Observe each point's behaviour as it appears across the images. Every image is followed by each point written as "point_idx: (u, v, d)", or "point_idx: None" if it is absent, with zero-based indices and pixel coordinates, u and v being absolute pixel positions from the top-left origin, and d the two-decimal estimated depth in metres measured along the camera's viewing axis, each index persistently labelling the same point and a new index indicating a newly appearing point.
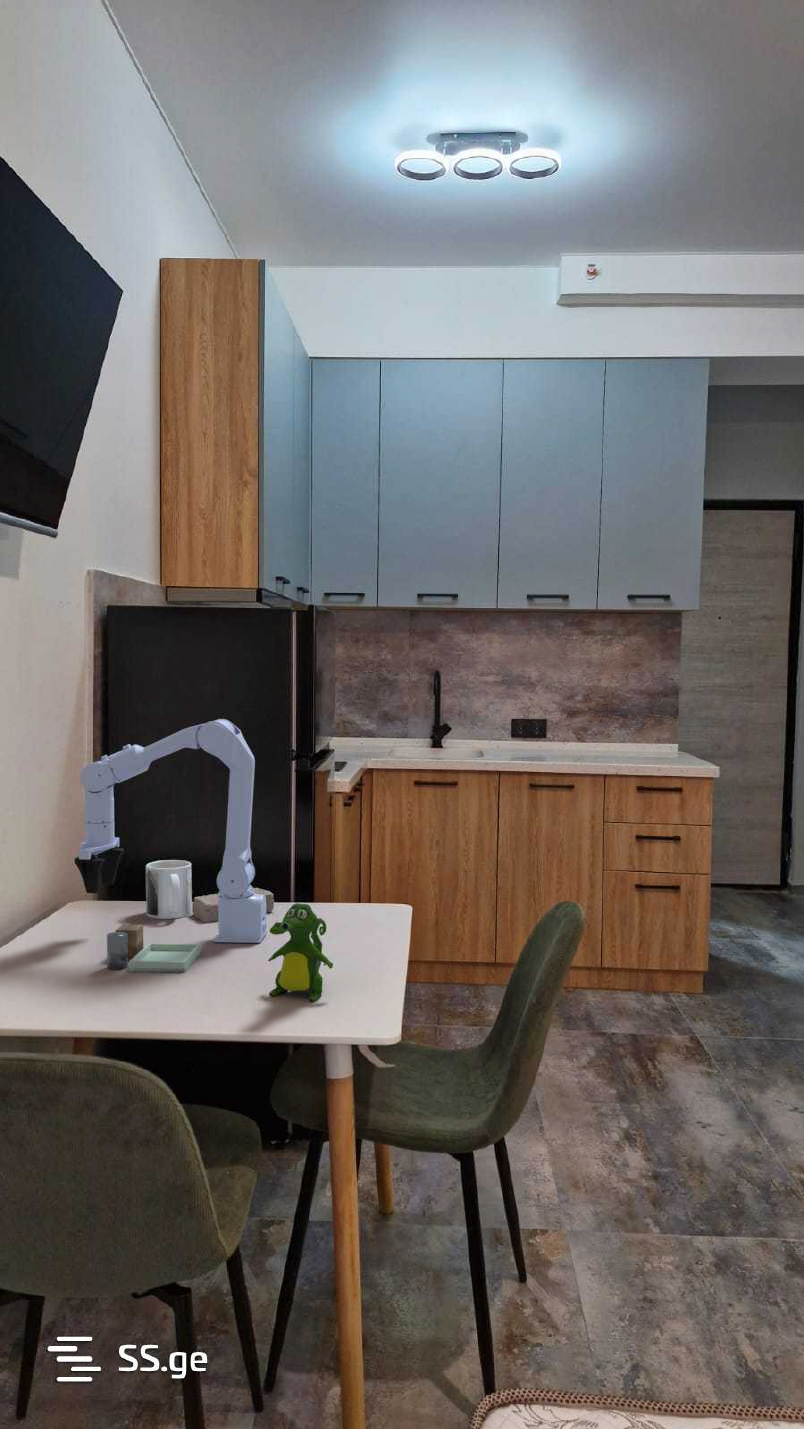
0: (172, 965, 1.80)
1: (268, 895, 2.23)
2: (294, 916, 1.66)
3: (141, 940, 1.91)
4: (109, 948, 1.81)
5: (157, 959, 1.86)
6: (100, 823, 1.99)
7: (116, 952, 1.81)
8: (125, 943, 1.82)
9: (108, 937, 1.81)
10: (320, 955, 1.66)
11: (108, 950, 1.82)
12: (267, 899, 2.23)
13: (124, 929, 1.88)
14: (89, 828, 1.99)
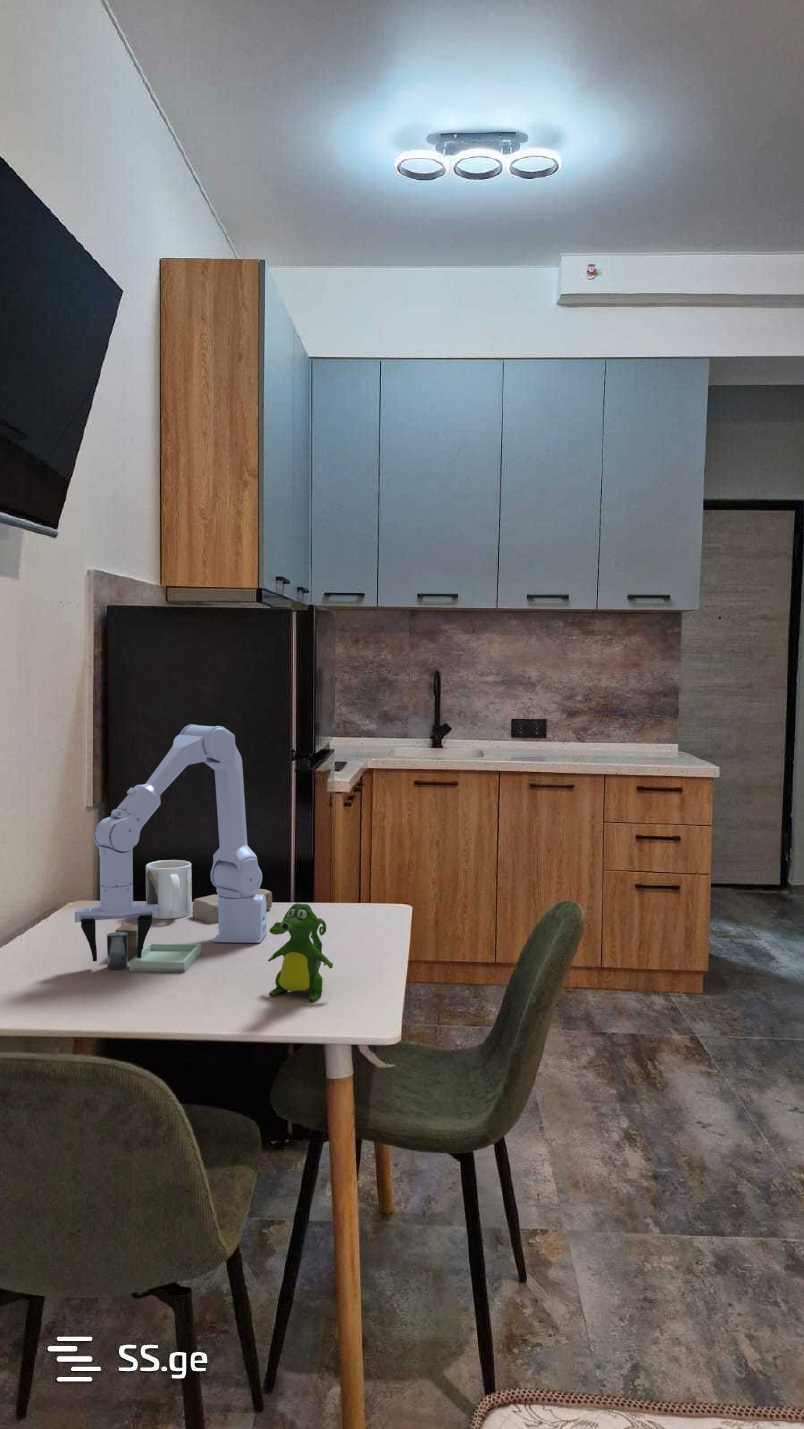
0: (172, 965, 1.80)
1: (267, 893, 2.25)
2: (294, 916, 1.66)
3: None
4: (109, 948, 1.81)
5: (157, 959, 1.86)
6: (102, 886, 1.80)
7: (116, 952, 1.81)
8: (125, 943, 1.82)
9: (108, 937, 1.81)
10: (320, 955, 1.66)
11: (108, 950, 1.82)
12: (266, 897, 2.25)
13: (124, 929, 1.88)
14: None
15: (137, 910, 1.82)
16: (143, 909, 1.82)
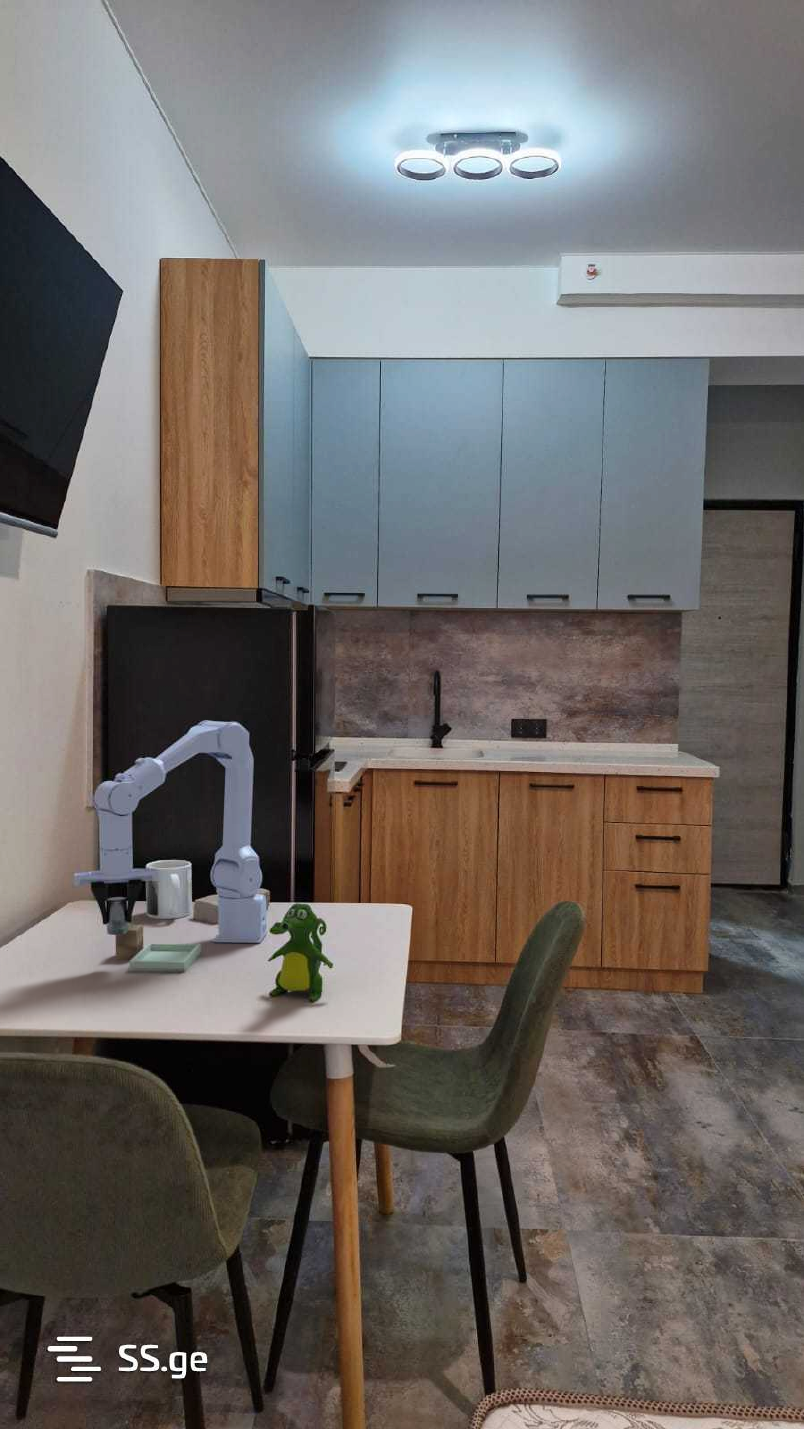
0: (172, 965, 1.80)
1: (266, 892, 2.26)
2: (294, 916, 1.66)
3: (141, 940, 1.91)
4: (108, 913, 1.81)
5: (157, 959, 1.86)
6: (101, 849, 1.80)
7: (116, 917, 1.81)
8: (124, 908, 1.82)
9: (107, 902, 1.81)
10: (320, 955, 1.66)
11: (108, 915, 1.81)
12: (265, 896, 2.26)
13: None
14: None
15: (137, 874, 1.81)
16: (143, 873, 1.82)
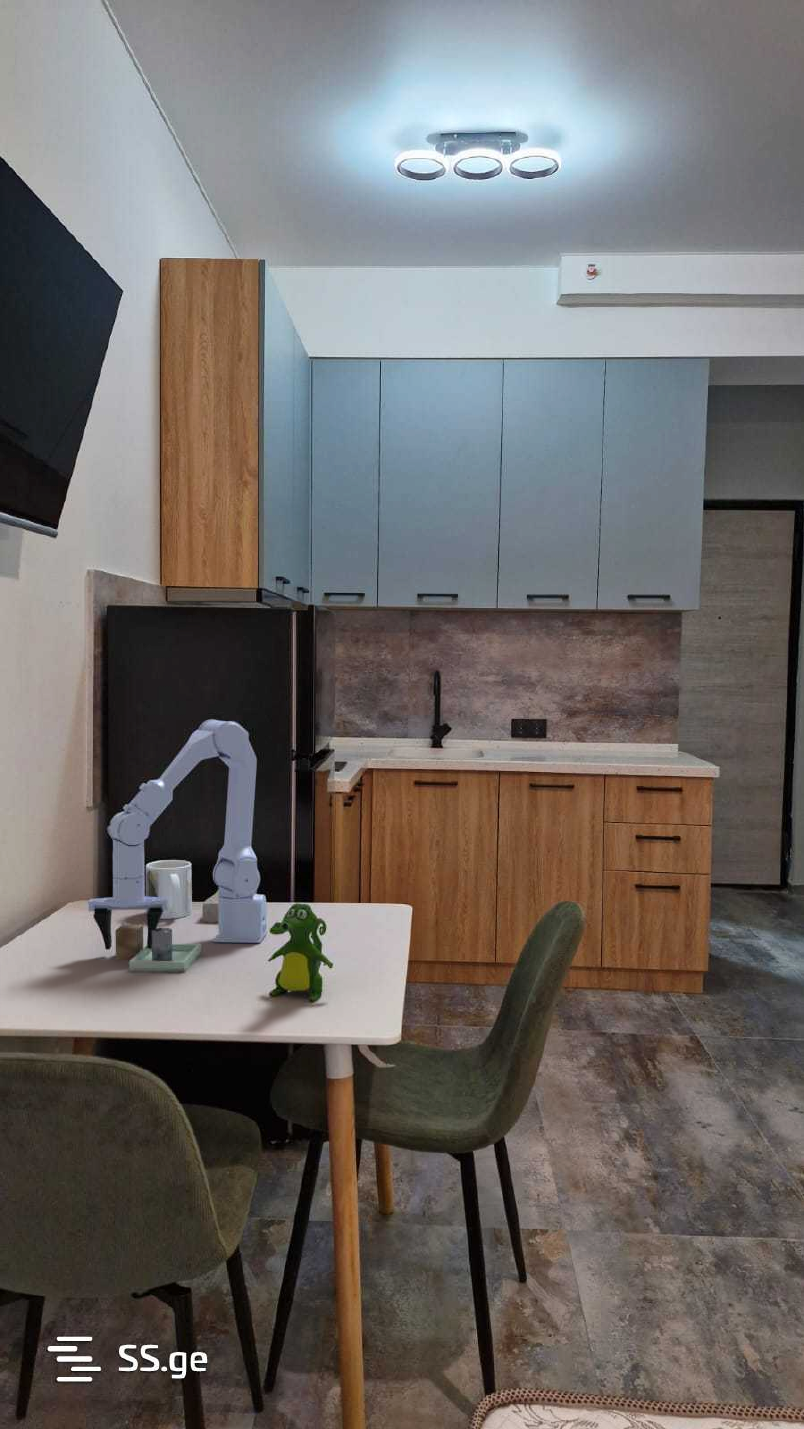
0: (172, 965, 1.80)
1: None
2: (294, 916, 1.66)
3: (141, 940, 1.91)
4: (156, 944, 1.81)
5: None
6: (113, 877, 1.88)
7: (164, 948, 1.82)
8: (171, 938, 1.83)
9: (155, 933, 1.81)
10: (320, 955, 1.66)
11: (155, 946, 1.82)
12: None
13: (124, 929, 1.88)
14: None
15: (146, 902, 1.88)
16: (152, 901, 1.88)
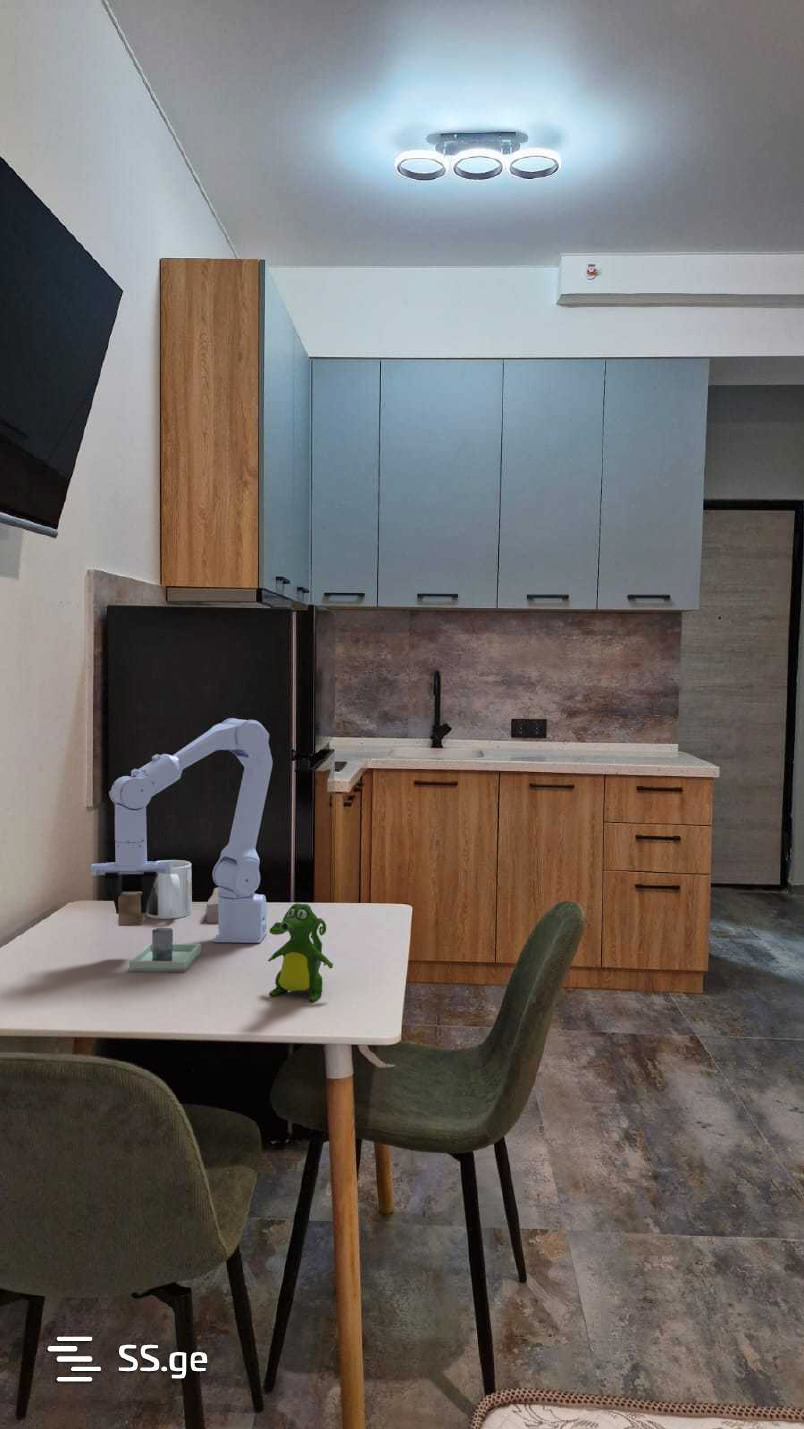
0: (172, 965, 1.80)
1: None
2: (294, 916, 1.66)
3: None
4: (157, 944, 1.82)
5: None
6: (116, 842, 1.87)
7: (165, 947, 1.82)
8: (172, 938, 1.83)
9: (156, 933, 1.82)
10: (320, 955, 1.66)
11: (155, 946, 1.82)
12: None
13: (127, 896, 1.88)
14: None
15: (149, 866, 1.87)
16: (155, 865, 1.88)
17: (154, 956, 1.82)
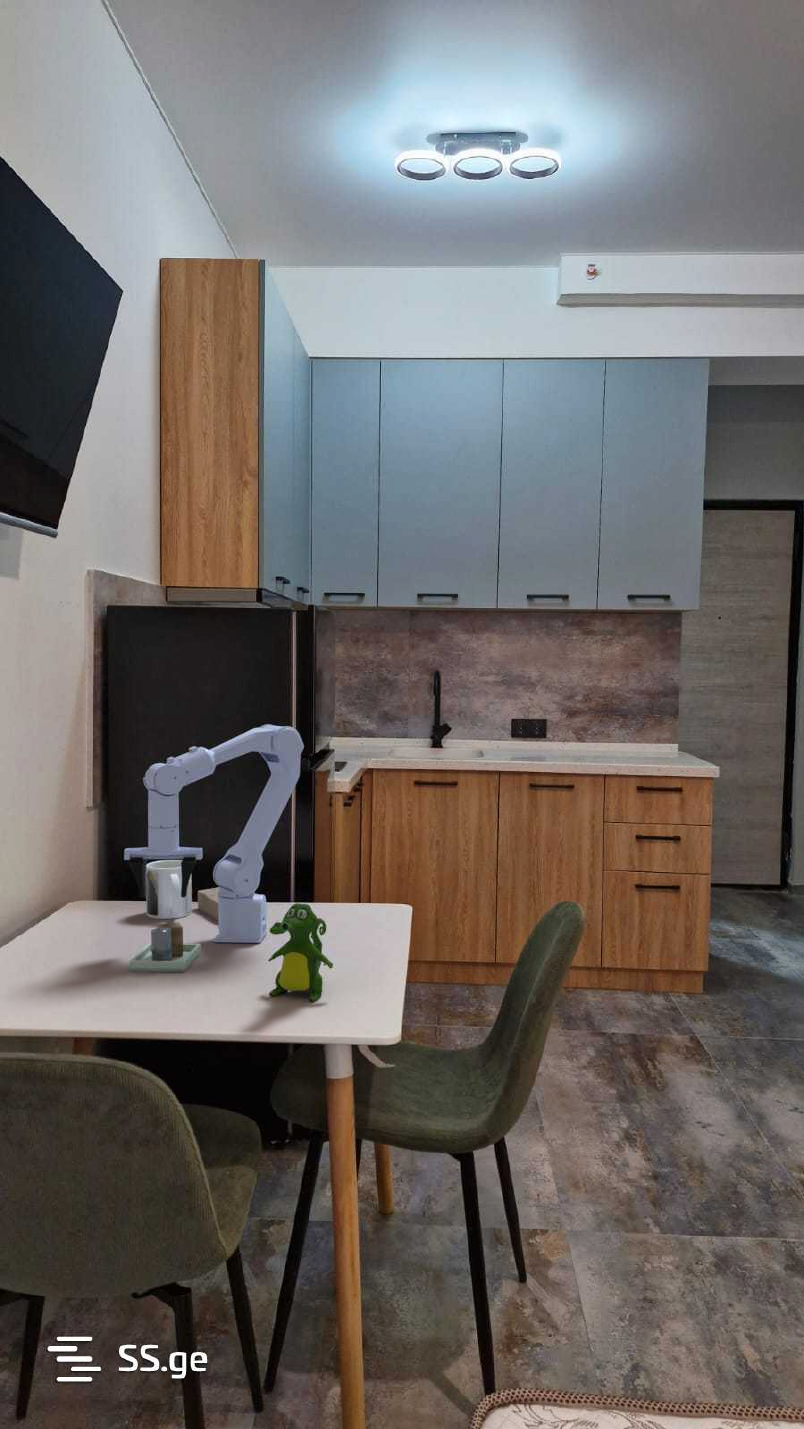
0: (172, 965, 1.80)
1: None
2: (294, 916, 1.66)
3: None
4: (157, 944, 1.81)
5: None
6: (149, 827, 1.91)
7: (165, 947, 1.82)
8: (171, 937, 1.83)
9: (155, 933, 1.81)
10: (320, 955, 1.66)
11: (155, 946, 1.82)
12: None
13: (168, 927, 1.87)
14: None
15: (181, 851, 1.91)
16: (186, 851, 1.92)
17: (154, 956, 1.82)
